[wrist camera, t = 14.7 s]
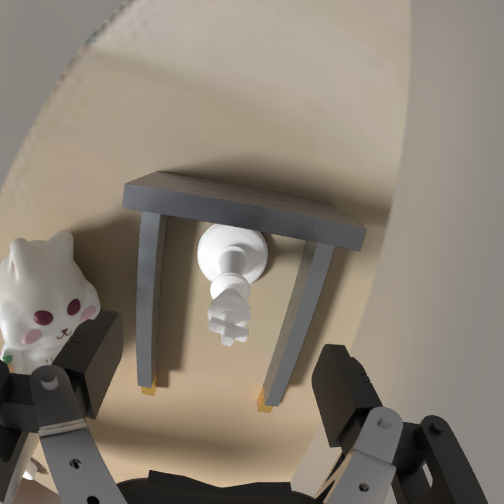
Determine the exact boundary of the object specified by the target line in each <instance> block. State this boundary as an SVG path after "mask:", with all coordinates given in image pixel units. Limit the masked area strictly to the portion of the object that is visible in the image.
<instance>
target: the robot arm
mask: <svg viewBox="0 0 504 504" xmlns="http://www.w3.org/2000/svg"><path fill="white" fill-rule="evenodd" d="M122 352H123V330H122V315H121V313H117V312H113V311H109V310H104V309H103V310H101V312H100V313H99V315H98V316H97V317H96V319H95V320H92V319H87V320H86V321H84V322H82V323H81V324H79V325H78V327H77V328H76V329H75V331H74V332H73V335H71V336H70V338H69V339H68V341H67V342H66V343H65V345H64V346H63V348H62V349H61V351H60V352H59V353H58V355H57V356H56V358H55V359H54V361H53V362H52V364H51V365H44V366H40V367H38V368H36V369H35V370H34V371H33V372H32V373H31V375H27V374H17V373H10V370H9V368H8V366H7V364H6V363H5V362H4V361H2V360H0V504H12V502H13V499H14V496H15V494H16V491H17V489H18V487H19V484H20V482H21V479H22V477H23V475H24V472H25V470H26V468H27V466H28V463H29V461H30V459H31V457H32V455H33V453H34V450H35V448H36V446H37V444H38V442H39V440H40V442H41V445H42V448H43V452H44V455H45V458H46V461H47V464H48V467H49V470H50V472H51V475H52V478H53V480H54V483H55V486H56V488H57V491H58V493H59V495H60V498H61V500H62V502H63V504H383V503H384V501H385V498H386V496H387V493H388V491H389V488H390V485H392V488H393V492H394V495H395V498H396V501H397V504H488V502H487V500H486V498H485V496H484V493H483V491H482V489H481V487H480V485H479V483H478V480H477V478H476V476H475V474H474V472H473V470H472V468H471V466H470V464H469V462H468V460H467V458H466V456H465V454H464V452H463V451H462V449H461V447H460V445H459V443H458V441H457V439H456V437H455V435H454V433H453V432H452V430H451V428H450V426H449V425H448V423H447V422H446V421H445V420H443V419H442V418H440V417H438V416H434V415H430V416H426V417H425V418H424V419H423V420H422V421H421V423H420V424H414V423H408V422H403V421H402V419H401V417H400V416H399V414H398V413H396V412H395V411H394V410H392V409H390V408H386V407H383V405H382V403H381V401H380V399H379V397H378V395H377V393H376V391H375V389H374V387H373V385H372V383H370V380H369V377H368V376H367V374H366V372H365V370H364V368H363V366H362V365H361V364H360V363H359V362H358V361H357V360H356V359H355V358H354V357H350V355H349V353H348V351H347V349H346V347H345V346H344V345H335V344H325V345H324V347H323V349H322V351H321V354H320V356H319V359H318V361H317V364H316V366H315V368H314V371H313V374H312V388H313V391H314V394H315V398H316V401H317V404H318V408H319V411H320V415H321V418H322V421H323V425H324V428H325V432H326V435H327V439H328V442H329V446H330V447H341V449H342V452H341V454H340V455H339V457H338V458H337V460H336V462H335V464H334V465H333V467H332V469H331V470H330V472H329V474H328V476H327V477H326V479H325V480H324V482H323V484H322V485H321V487H320V488H319V490H318V491H317V492H316V494H315V495H314V496H313V497H311V496H308V495H306V494H303V493H300V492H296V491H292V490H291V485H290V482H255V483H250V484H244V485H238V486H231V487H224V488H221V487H216V486H213V485H210V484H206V483H203V482H200V481H197V480H194V479H191V478H188V477H186V476H181V475H174V474H169V473H163V472H158V471H153V470H149V476H148V478H137V479H131V480H126V481H123V482H120V483H117V484H116V483H115V481H114V479H113V478H112V476H111V474H110V472H109V470H108V468H107V466H106V464H105V462H104V460H103V458H102V456H101V454H100V452H99V450H98V448H97V446H96V444H95V442H94V439H93V437H92V435H91V433H90V430H89V428H88V426H87V423H86V421H84V420H85V417H89V418H92V419H96V416H97V414H98V411H99V409H100V406H101V404H102V402H103V399H104V397H105V394H106V392H107V390H108V387H109V385H110V383H111V380H112V378H113V376H114V373H115V371H116V369H117V366H118V364H119V362H120V360H121V357H122ZM425 463H427V466H428V468H429V471H430V473H431V475H432V478H433V483H432V487H431V488H430V486H429V483H428V481H427V478H426V475H425V473H424V470H423V468H422V466H423V465H424V464H425Z"/></svg>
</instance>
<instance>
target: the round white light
mask: <svg viewBox="0 0 504 504" xmlns="http://www.w3.org/2000/svg"><path fill="white" fill-rule="evenodd" d="M37 470H38V468H37V466H36V465H35V463H34V462H33V461H32V460H31V459H30V461H29V463H28V466H27V468H26V470H25V472H24V475H23V477H24V478H26V479H29V480H32V479H34V476H35V475H36V472H37Z"/></svg>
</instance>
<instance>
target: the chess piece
mask: <svg viewBox="0 0 504 504" xmlns="http://www.w3.org/2000/svg"><path fill="white" fill-rule="evenodd" d="M197 253H198V263H199V266H200V268H201V270H202V272H203V273H204V275H205V276H206V277H207V278H208V279H209V280H210V281H212V284H211V295H212V298H213V299H214V300H213V301H212V302H211V304H210V306H209V308H208V318H209V321H210V322H209V325H208V330H211V331H213V332H216V333H219V334H221V335H222V336H221V344H224V345H227V346H230V347H231V345H232V344H233V342H234V340H235V339H236V340H238V341H241V342H245V341H246V339H247V337H248V335H249V334H248V329H245V328H244V327H245V326H246V325H247V324H248V323H249V321H250V318H251V310H250V307H249V305H248V303H247V302H246V301H247V300H248V298H249V296H250V292H251V288H250V284H251V283H253V282H254V281H255V280H256V279H258V278H259V276H260V275H261V274H262V272H263V271H264V269H265V266H266V263H267V258H268V248H267V244H266V241H265V239H264V237H263V235H262V234H261V233H260V231H254V230H249V229H243V228H238V227H232V226H227V225H221V224H214V225H212V226H211V227H210V228H209V229H207V230H206V232H205V233H204V234H203V235H202V237H201V239H200V241H199V245H198V252H197Z"/></svg>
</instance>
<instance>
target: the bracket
mask: <svg viewBox="0 0 504 504" xmlns="http://www.w3.org/2000/svg"><path fill="white" fill-rule="evenodd" d="M122 208H127V209H133V210H139V211H142V215H141V226H140V238H139V251H138V269H137V294H136V354H137V379H138V386H142V394H147V395H151V396H154V395H155V392H156V388H157V342H158V319H159V302H160V288H161V275H162V264H163V253H164V244H165V235H166V226H167V218H168V215H169V216H175V217H181V218H187V219H193V220H198V221H204V222H210V223H216V224H221V225H227V226H232V227H238V228H243V229H249V230H254V231H260V232H265V233H270V234H276V235H281V236H286V237H291V238H297V239H302V240H307V242H306V246H305V250H304V253H303V257H302V261H301V264H300V268H299V271H298V275H297V278H296V282H295V285H294V289H293V292H292V296H291V299H290V303H289V306H288V309H287V313H286V316H285V319H284V322H283V326H282V329H281V332H280V335H279V339H278V342H277V345H276V348H275V351H274V354H273V358H272V361H271V364H270V367H269V370H268V373H267V376H266V379H265V382H264V385H263V388H262V391H261V394H260V397H259V400H258V402H257V404H258V412H268V413H270V412H271V410H272V408H273V406H279V403H280V401H281V398H282V396H283V393H284V391H285V389H286V386H287V384H288V381H289V378H290V376H291V373H292V371H293V368H294V366H295V363H296V360H297V358H298V355H299V352H300V350H301V347H302V344H303V342H304V339H305V336H306V333H307V331H308V328H309V325H310V322H311V319H312V316H313V313H314V311H315V308H316V305H317V302H318V299H319V296H320V293H321V290H322V287H323V283H324V280H325V277H326V274H327V271H328V268H329V264H330V261H331V258H332V255H333V251H334V248H335V246H337V247H342V248H347V249H352V250H357V251H360V250H361V247H362V243H363V240H364V237H365V234H366V230H367V229H366V228H364V227H363V226H362V225H360V224H359V223H358V222H356V221H355V220H354V219H352V218H351V217H349V216H348V215H347V214H345V213H344V212H343V211H341V210H340V209H338V208H337V207H336V206H334V205H332V204H328V203H323V202H319V201H315V200H310V199H306V198H301V197H297V196H292V195H287V194H283V193H278V192H273V191H268V190H263V189H258V188H253V187H248V186H243V185H237V184H232V183H226V182H221V181H215V180H209V179H203V178H197V177H191V176H185V175H178V174H172V173H165V172H158V171H156V172H153V173H151V174H148V175H146V176H143V177H140V178H138V179H135V180H133V181H130V182H128V183H125V185H124V195H123V205H122Z"/></svg>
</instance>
